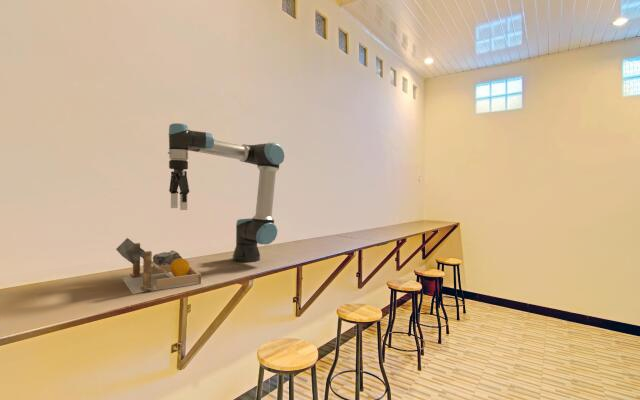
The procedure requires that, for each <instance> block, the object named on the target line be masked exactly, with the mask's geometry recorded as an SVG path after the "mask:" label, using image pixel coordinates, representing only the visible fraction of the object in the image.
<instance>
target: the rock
mask: <svg viewBox="0 0 640 400" xmlns="http://www.w3.org/2000/svg"><path fill="white" fill-rule="evenodd" d="M179 258H182V259H183V257H182V256H181V255H180V253H179V252H177V251H175V250H170V251H168V252H167V251H166V252H165V251H162V252H160V253H156V254H154V255H152V261H153V262H154V263H155V264H157V265H158V266H163V265H171V263H172V262H173V261H174V260H176V259H179ZM152 267H154V265H152Z"/></svg>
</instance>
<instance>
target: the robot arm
mask: <svg viewBox="0 0 640 400" xmlns="http://www.w3.org/2000/svg"><path fill="white" fill-rule="evenodd" d="M168 145H169V147H168V152H167V154H168V155H169V158H168V159H169V161H168V169H170V170H173V171H170V172H171V173H170V175H171V176H170V180H169V181H170V182H169V183H170V184H169V189H168V191H169V193H170V209H178V208H179V210H180V211H187V210H188V194H189V193H190V189H189V187H190V186H189V182H188V181H189V180H188V176H187V175H188V174H187V170H188V169H189V162H188V160H189V152H195V153H201V154H208V155H212V156H219V157H224V158H231V159H236V160H239V162H241V163H247V164H250V165H251V164H252V165H255V166H257V167H256V168H257V169H258V170H259V172H258V173H259V174H258V175H259V176H258V186H257V197H256V208H255V215H254V216H253V217H251V218H239V219H237V220H236V226H235V228H236V230H235V232H236V233H235V234H236V236H235V237H236V239H235V248H234V251H233V254H232V261H234V262H237V263H239V262H241V263H246V262H247V263H249V262H250V263H252V262H256V261H257V262H258V261H260V260H261V254H260V251H259V247H258V245H264V246H265V245H270V244H272V243H273V242H274V241H275V240H276V238H277V236H278V227H277V226H276V225H275V219H274V217H273V216H272V215H273V206H274V204H273V203H274V196H275V195H274V193H275V186H276V185H275V184H276V183H275V182H276V173H277V172H278V170H280V165H281V164H282V163H283V162H284V159H285V152H284V149H283V147H282V146H281V145H280V144H279V143H276V142H267V143H258V144H242V145H240V144H236V143H232V142H225V141H222V140H217V139H215V136H214V135H213V134H212V133H210V132H206V131H204V132H203V131H198V130H197V131H196V130H191V129H189V127H188V125H187V124H184V123H180V122H179V123H177V122H176V123H175V122H174V123H171V124H169V128H168ZM178 188H179V191H178ZM178 194H179V198H178ZM178 199H179V200H178ZM178 201H179V202H178ZM178 203H179V207H178Z"/></svg>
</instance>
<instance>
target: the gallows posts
mask: <svg viewBox="0 0 640 400" xmlns="http://www.w3.org/2000/svg"><path fill="white" fill-rule="evenodd" d="M134 243H135V244H136V245H137V246H139V247H140V248H141V242H134ZM152 253H153V252H152V251H151V250H148V251H145V252H144V256H143V258H142V259H143V263H142V264H143V265H142V266H143V268H142V269H143V273H141V257H140V258H139V259H138V260H137V261H136V262H135V263H134V264H132V274H129V277H131V278H136V277H142V275H143V287H140V289H141V290H142V291H144V292H143V293H149V292H152V291H151V290H154V287H153V286H152V285H151V267H153V265H152V261H153V254H152ZM145 291H146V292H145ZM148 291H149V292H148Z"/></svg>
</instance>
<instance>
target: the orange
mask: <svg viewBox="0 0 640 400" xmlns="http://www.w3.org/2000/svg"><path fill="white" fill-rule="evenodd" d="M190 265H191V264H190V262H189V261H188V260H187V259H185V258H183V257H182V258H179V259H176V260H174V261H173V262H172V263H171V272H172V274H173V275H174V276H176V277H178V276H185V275H186V274H187V273H188V272H189V270H190V267H191V266H190Z"/></svg>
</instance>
